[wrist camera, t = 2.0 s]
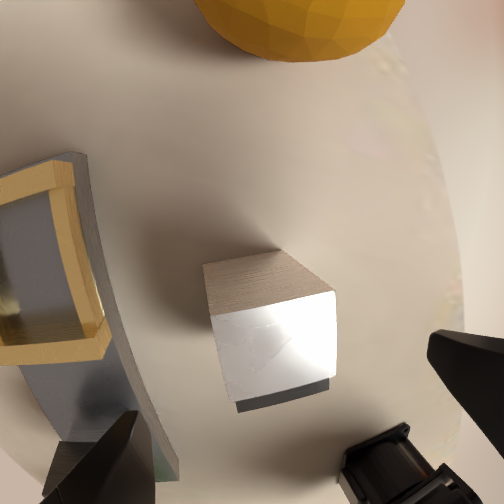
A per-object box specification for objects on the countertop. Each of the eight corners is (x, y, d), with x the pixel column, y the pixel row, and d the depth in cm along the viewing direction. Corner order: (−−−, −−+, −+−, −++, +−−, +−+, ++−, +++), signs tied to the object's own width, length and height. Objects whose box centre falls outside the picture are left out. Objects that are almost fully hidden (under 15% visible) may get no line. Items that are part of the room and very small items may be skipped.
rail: (86, 154, 12) (-12, 132, 5) (178, 459, 17) (184, 553, 10) (-11, 187, 11) (-115, 202, 4) (98, 462, 16) (84, 546, 8)
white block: (282, 249, 15) (334, 290, 9) (289, 325, 16) (335, 390, 11) (202, 264, 15) (210, 316, 9) (217, 341, 16) (233, 417, 10)
